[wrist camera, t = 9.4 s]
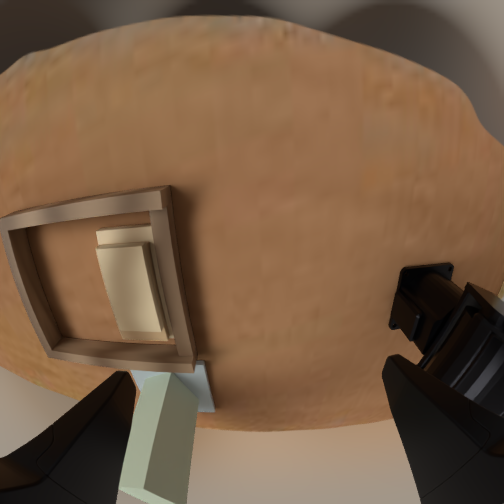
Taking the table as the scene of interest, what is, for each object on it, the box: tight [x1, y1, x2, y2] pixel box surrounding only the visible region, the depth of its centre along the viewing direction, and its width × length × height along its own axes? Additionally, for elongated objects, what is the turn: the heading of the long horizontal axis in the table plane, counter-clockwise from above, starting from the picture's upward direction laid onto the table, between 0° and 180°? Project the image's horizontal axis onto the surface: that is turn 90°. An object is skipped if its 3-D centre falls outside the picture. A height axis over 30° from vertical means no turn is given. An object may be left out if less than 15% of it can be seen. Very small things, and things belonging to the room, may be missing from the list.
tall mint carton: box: [118, 372, 199, 504], centre depth 19 cm, size 4×5×13 cm
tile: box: [131, 361, 215, 412], centre depth 26 cm, size 8×8×1 cm
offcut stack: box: [95, 224, 174, 341], centre depth 20 cm, size 5×10×2 cm, turn 3°
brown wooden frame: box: [0, 185, 198, 373], centre depth 20 cm, size 17×15×2 cm
